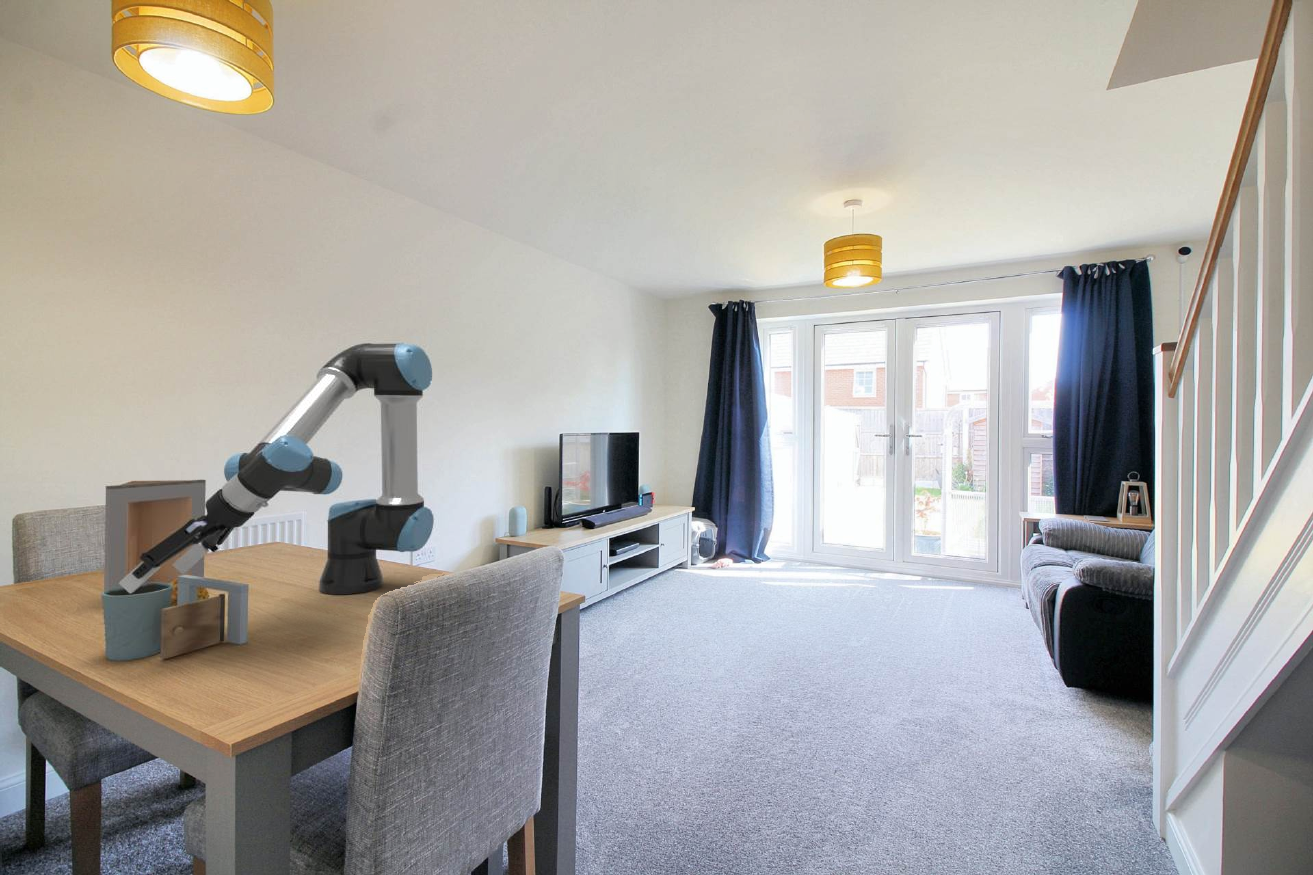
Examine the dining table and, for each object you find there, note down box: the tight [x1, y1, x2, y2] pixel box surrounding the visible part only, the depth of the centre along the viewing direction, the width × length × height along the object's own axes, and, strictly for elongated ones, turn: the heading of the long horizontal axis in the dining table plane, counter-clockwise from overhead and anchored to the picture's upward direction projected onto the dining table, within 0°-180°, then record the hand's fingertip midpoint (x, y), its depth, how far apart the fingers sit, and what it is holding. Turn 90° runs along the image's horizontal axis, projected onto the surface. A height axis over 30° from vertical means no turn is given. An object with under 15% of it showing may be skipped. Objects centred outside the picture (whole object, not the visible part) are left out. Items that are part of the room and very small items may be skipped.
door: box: [160, 593, 226, 660], centre depth 113 cm, size 10×2×9 cm, turn 156°
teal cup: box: [101, 582, 173, 662], centre depth 112 cm, size 10×10×12 cm
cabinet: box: [103, 479, 207, 591], centre depth 147 cm, size 21×10×28 cm, turn 161°
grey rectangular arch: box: [177, 575, 249, 645], centre depth 121 cm, size 18×2×12 cm, turn 71°
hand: (153, 578), depth 114 cm, fingers open, 13 cm apart
